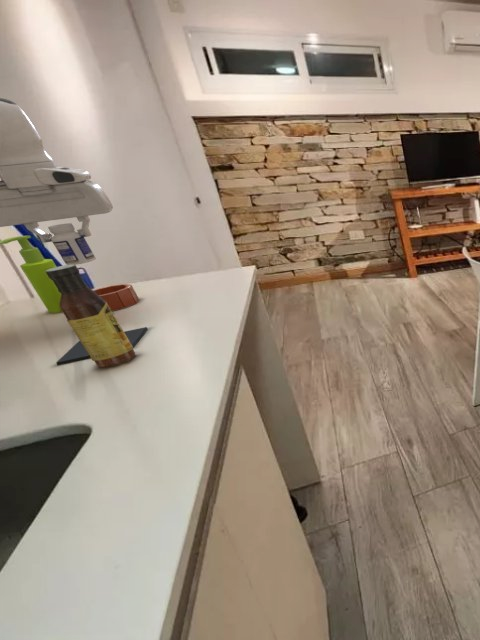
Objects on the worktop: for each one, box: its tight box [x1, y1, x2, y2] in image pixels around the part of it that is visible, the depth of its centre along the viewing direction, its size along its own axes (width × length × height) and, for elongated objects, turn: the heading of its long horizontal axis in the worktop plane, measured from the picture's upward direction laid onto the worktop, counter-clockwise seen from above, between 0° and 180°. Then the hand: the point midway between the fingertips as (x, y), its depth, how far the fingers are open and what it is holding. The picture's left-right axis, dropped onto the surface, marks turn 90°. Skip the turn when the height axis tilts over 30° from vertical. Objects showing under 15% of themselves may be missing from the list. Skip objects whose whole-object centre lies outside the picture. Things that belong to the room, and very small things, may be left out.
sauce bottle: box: [46, 264, 136, 368], centre depth 91 cm, size 6×6×20 cm
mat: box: [56, 326, 148, 366], centre depth 103 cm, size 12×12×1 cm
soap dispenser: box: [0, 235, 63, 314], centre depth 124 cm, size 6×7×20 cm
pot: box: [92, 283, 140, 312], centre depth 127 cm, size 10×10×4 cm
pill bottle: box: [47, 222, 96, 266], centre depth 111 cm, size 5×5×9 cm
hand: (68, 239), depth 111 cm, fingers closed on pill bottle, 5 cm apart
